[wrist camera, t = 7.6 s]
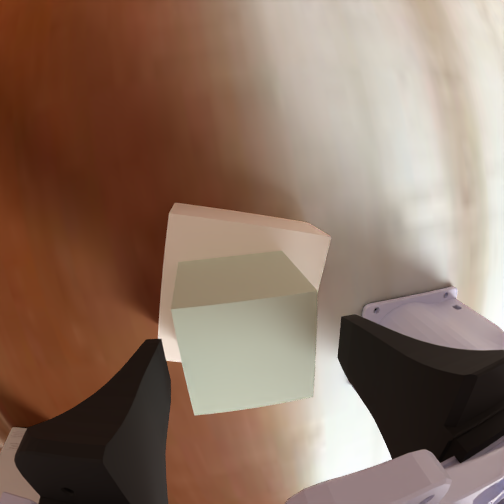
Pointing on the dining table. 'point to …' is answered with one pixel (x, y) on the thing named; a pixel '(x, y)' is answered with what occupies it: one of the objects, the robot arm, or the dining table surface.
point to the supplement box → (14, 468)
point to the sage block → (245, 331)
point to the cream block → (232, 249)
